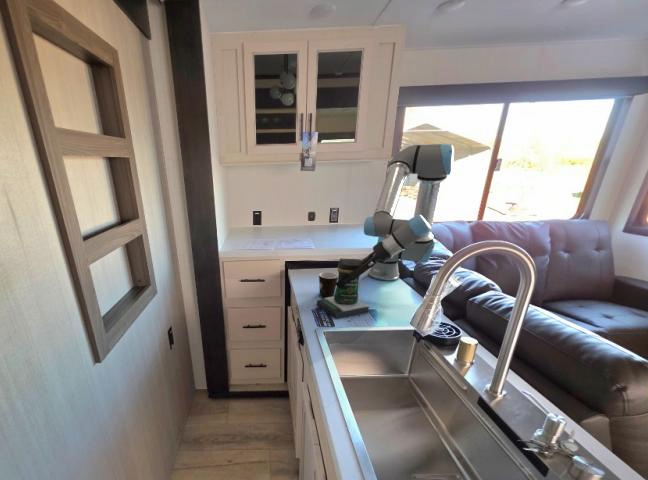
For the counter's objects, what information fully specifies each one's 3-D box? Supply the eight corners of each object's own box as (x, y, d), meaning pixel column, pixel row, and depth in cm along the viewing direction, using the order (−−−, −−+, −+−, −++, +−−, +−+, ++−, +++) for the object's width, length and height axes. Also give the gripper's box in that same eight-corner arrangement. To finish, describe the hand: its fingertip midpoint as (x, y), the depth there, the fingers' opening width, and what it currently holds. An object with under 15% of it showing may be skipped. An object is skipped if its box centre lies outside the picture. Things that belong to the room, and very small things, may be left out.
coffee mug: (336, 299, 142) (338, 279, 138) (317, 298, 144) (318, 277, 139) (335, 290, 152) (337, 270, 148) (317, 289, 154) (319, 269, 150)
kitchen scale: (347, 299, 142) (348, 293, 141) (368, 312, 130) (369, 305, 129) (316, 305, 137) (317, 298, 135) (335, 319, 125) (336, 311, 123)
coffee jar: (335, 304, 129) (339, 261, 122) (332, 297, 137) (337, 255, 129) (359, 305, 128) (365, 262, 121) (355, 298, 136) (361, 256, 128)
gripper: (382, 235, 127) (338, 268, 139) (378, 247, 109) (328, 283, 122) (394, 249, 127) (349, 281, 139) (392, 263, 109) (340, 298, 122)
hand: (339, 282), depth 130 cm, fingers closed on coffee jar, 8 cm apart
